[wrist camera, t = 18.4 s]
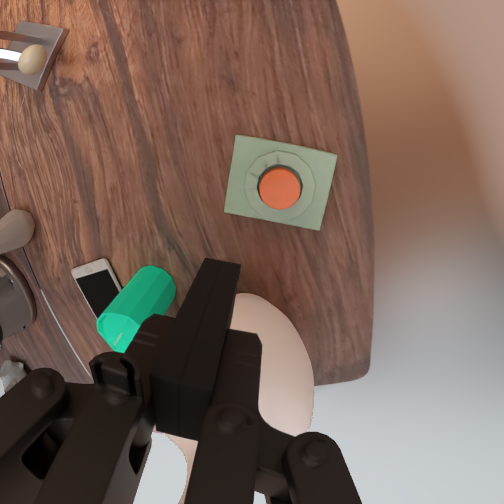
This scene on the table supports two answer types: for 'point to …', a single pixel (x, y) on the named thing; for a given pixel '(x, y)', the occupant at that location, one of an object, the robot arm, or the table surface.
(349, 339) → the table surface
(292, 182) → the button
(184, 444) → the vase
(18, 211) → the salt shaker
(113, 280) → the smartphone
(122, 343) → the candle
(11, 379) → the white rounded ceramic body
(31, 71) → the lever
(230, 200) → the button block
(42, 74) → the bracket
